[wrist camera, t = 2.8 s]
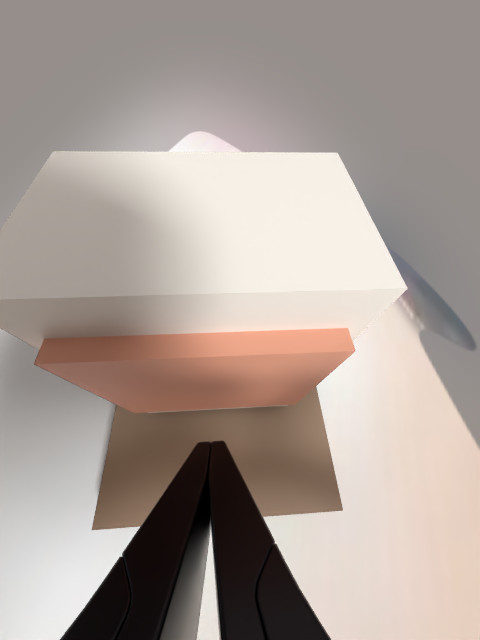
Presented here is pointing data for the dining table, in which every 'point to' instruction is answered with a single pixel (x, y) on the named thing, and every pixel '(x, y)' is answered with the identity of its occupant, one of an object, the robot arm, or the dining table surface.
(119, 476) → the board
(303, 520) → the dining table surface
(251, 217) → the block
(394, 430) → the dining table surface
